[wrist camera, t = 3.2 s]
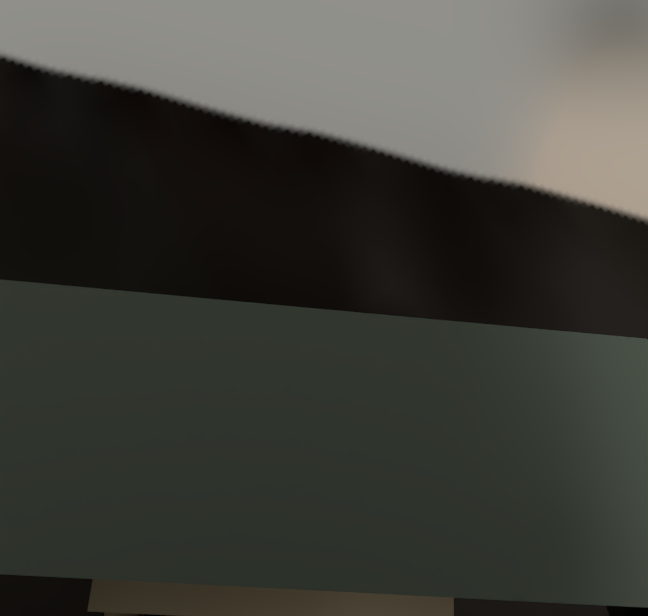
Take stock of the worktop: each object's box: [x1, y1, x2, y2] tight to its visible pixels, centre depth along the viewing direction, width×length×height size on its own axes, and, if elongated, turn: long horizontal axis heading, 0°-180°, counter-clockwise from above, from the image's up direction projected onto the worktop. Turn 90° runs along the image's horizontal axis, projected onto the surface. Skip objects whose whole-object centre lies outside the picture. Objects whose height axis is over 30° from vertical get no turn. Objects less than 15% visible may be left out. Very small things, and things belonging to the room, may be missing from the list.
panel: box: [0, 280, 648, 608], centre depth 10 cm, size 2×6×12 cm, turn 87°
